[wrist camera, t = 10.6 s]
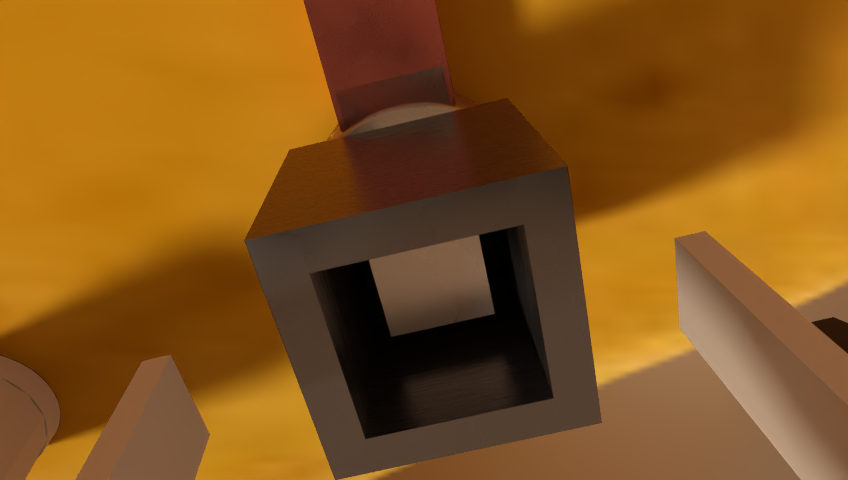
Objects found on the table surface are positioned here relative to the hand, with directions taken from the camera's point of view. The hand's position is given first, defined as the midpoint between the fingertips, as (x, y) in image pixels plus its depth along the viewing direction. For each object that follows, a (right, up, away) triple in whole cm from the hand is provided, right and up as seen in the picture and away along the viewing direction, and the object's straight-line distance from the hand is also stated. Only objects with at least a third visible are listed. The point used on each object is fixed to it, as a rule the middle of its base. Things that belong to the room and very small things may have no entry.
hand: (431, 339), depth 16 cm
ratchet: (-2, +11, +9) cm, 14 cm away
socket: (0, +3, +8) cm, 9 cm away
